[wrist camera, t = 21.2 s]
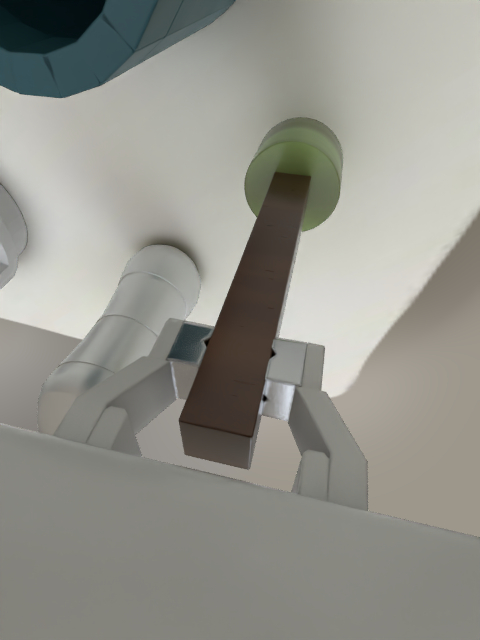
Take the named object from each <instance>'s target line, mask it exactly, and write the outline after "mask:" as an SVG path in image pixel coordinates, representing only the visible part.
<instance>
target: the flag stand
mask: <svg viewBox="0 0 480 640" xmlns="http://www.w3.org/2000/svg"><path fill="white" fill-rule="evenodd" d="M26 244H27V229H26V224H25V221H24V219H23V216H22V214H21V212H20V210H19V208H18V207H17V205H16V203H15V201H14V200H13V199H12V197H11V196H10V195H9V193H8V192H7V191H6V190H5V189H4V187H3V186H2V185H1V184H0V289H2V288H3V287H4V286H5V285H6V284H7V283H8V282H9V281H10V280H11V279H12V278H13V277H14V275H15V273H16V270H17V268H18V256H19V255H20V254H21V253H22V251H23V250H24V249H25V246H26Z"/></svg>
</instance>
